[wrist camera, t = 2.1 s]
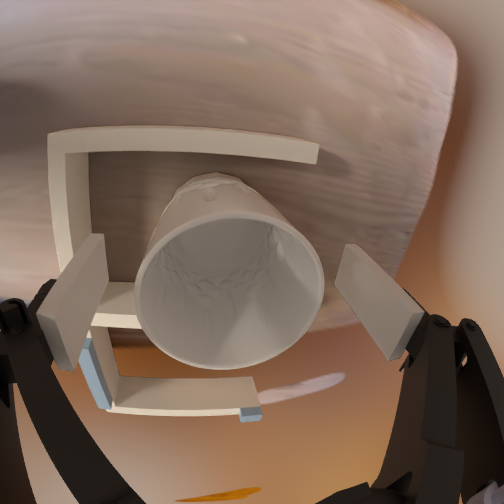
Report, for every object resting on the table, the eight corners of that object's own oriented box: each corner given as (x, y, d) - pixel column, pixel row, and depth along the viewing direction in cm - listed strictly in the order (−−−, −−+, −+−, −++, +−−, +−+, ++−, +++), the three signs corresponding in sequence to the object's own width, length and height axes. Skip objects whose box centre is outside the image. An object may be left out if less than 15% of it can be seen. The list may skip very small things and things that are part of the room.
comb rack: (111, 381, 26) (105, 421, 21) (73, 128, 15) (37, 135, 11) (251, 382, 29) (261, 421, 25) (296, 137, 19) (328, 146, 14)
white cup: (149, 256, 20) (127, 357, 12) (172, 150, 17) (150, 188, 9) (249, 276, 23) (284, 374, 14) (283, 180, 20) (354, 240, 11)
